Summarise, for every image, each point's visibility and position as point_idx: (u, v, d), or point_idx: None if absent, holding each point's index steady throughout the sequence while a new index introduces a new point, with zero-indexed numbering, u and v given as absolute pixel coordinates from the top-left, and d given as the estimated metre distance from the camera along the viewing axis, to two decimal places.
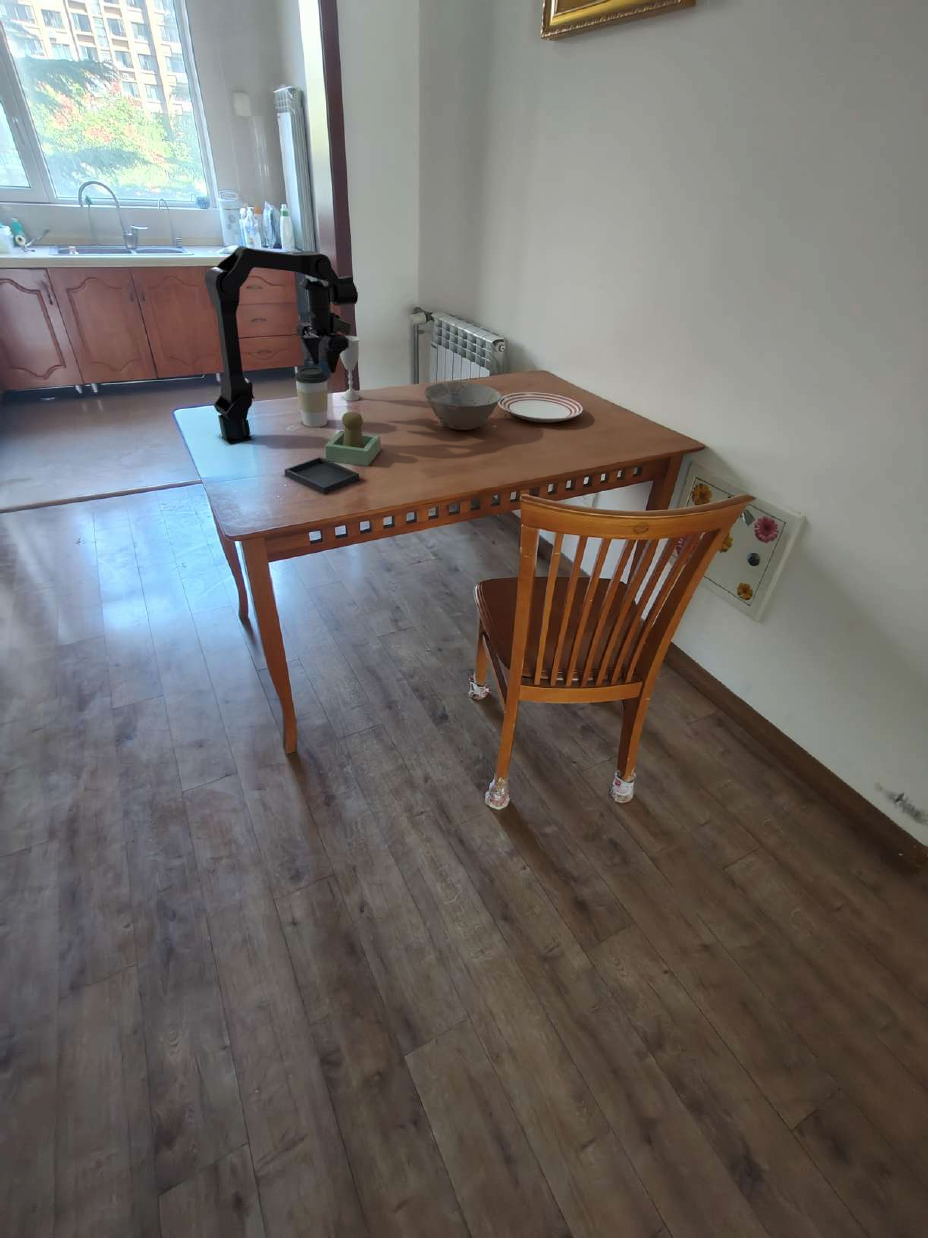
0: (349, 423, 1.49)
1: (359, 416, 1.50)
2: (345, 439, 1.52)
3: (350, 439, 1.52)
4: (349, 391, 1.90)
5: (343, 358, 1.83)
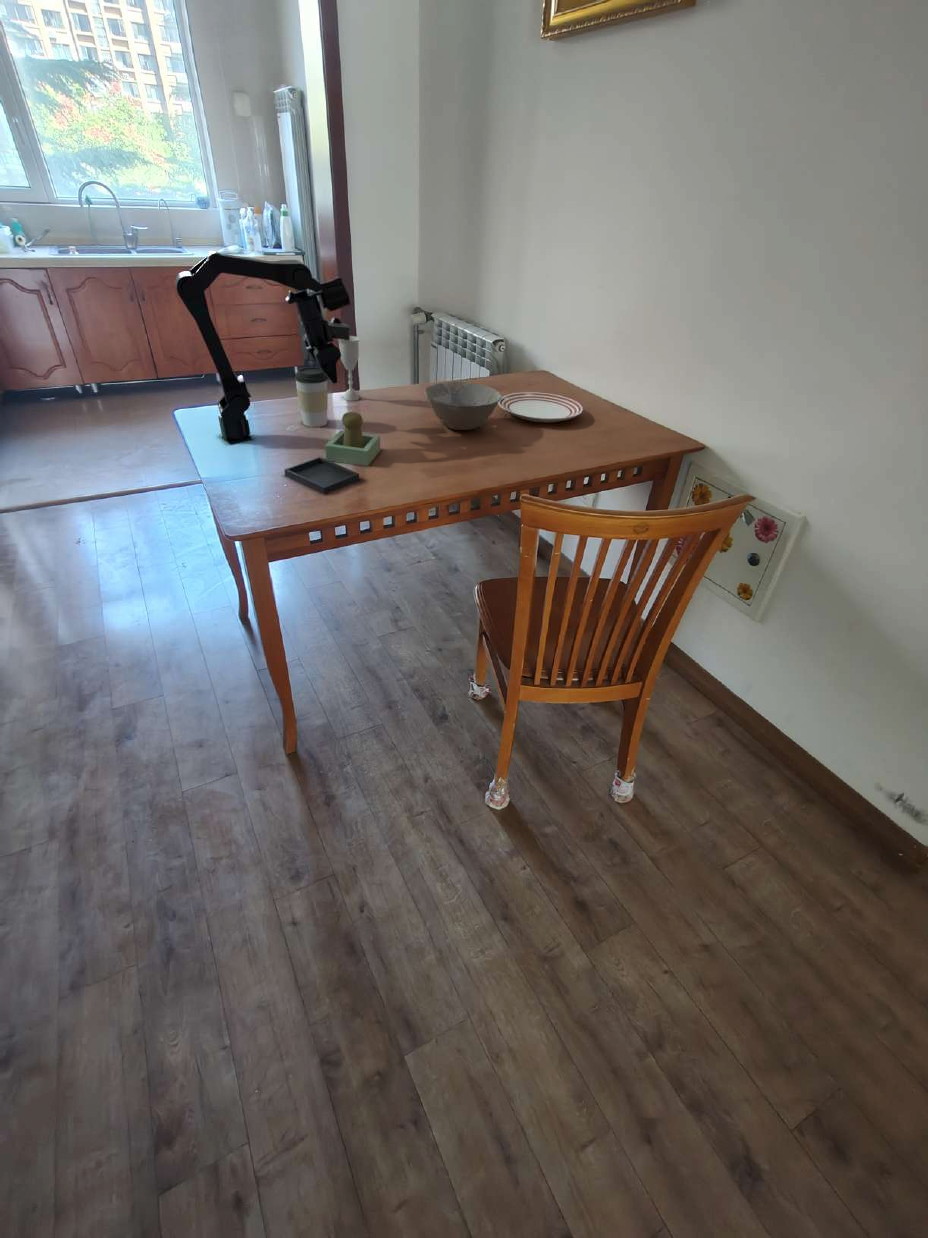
0: (349, 422, 1.49)
1: (359, 416, 1.50)
2: (345, 439, 1.52)
3: (350, 439, 1.52)
4: (349, 391, 1.90)
5: (343, 358, 1.83)
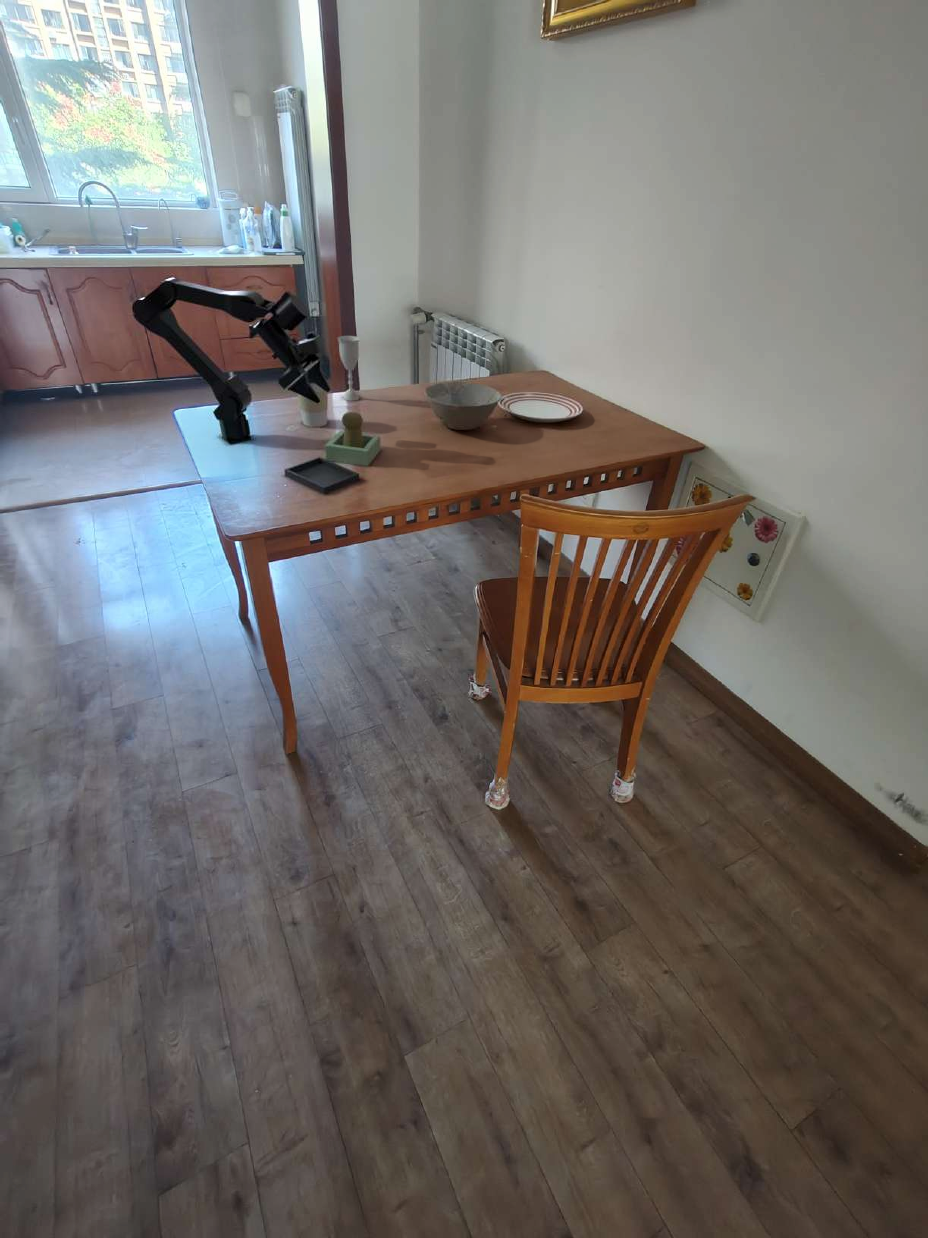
0: (349, 423, 1.49)
1: (359, 416, 1.50)
2: (345, 439, 1.52)
3: (350, 439, 1.52)
4: (349, 391, 1.90)
5: (343, 358, 1.83)
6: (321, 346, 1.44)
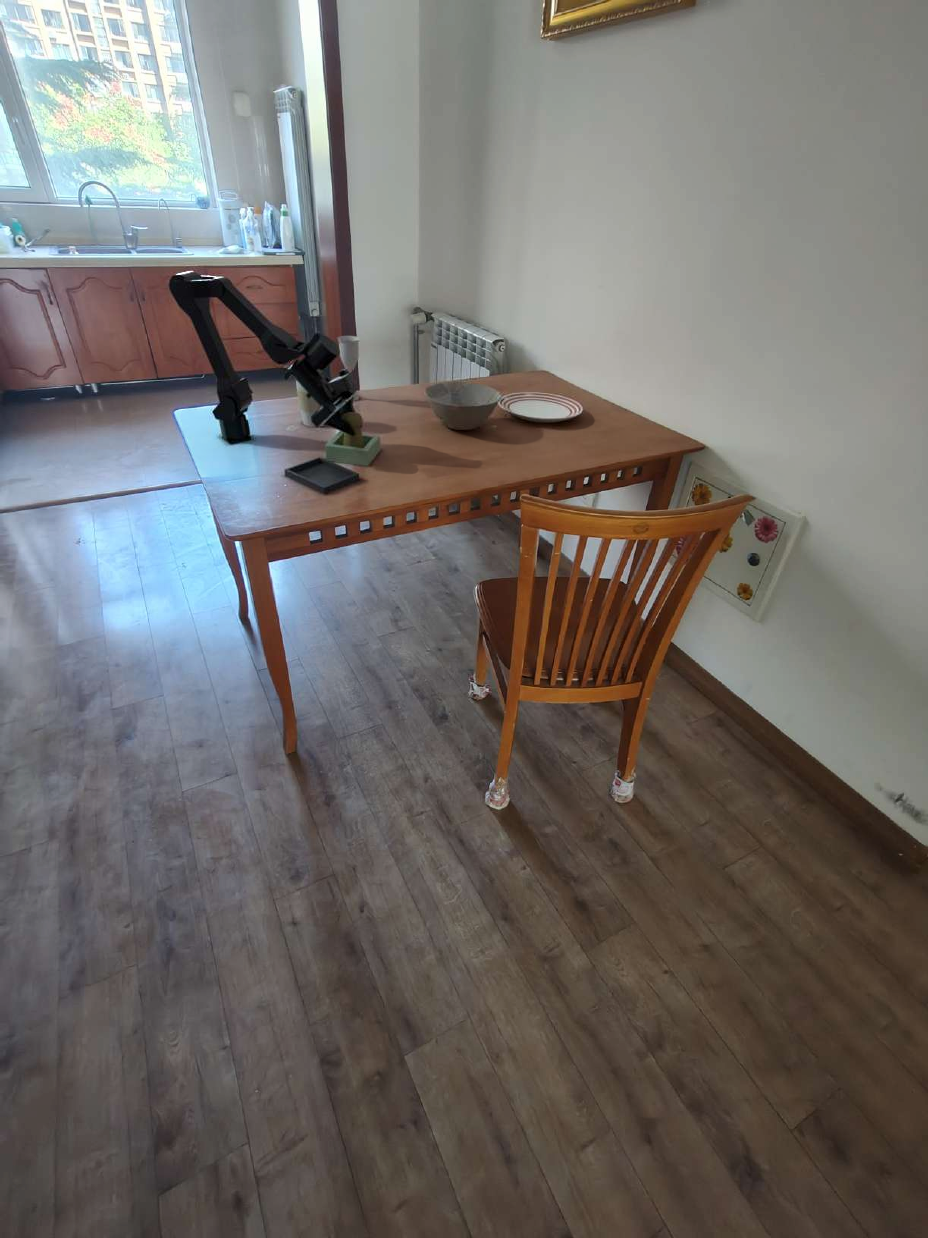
0: (349, 422, 1.49)
1: (359, 416, 1.50)
2: (345, 439, 1.52)
3: (350, 439, 1.52)
4: None
5: (343, 358, 1.83)
6: (352, 383, 1.46)
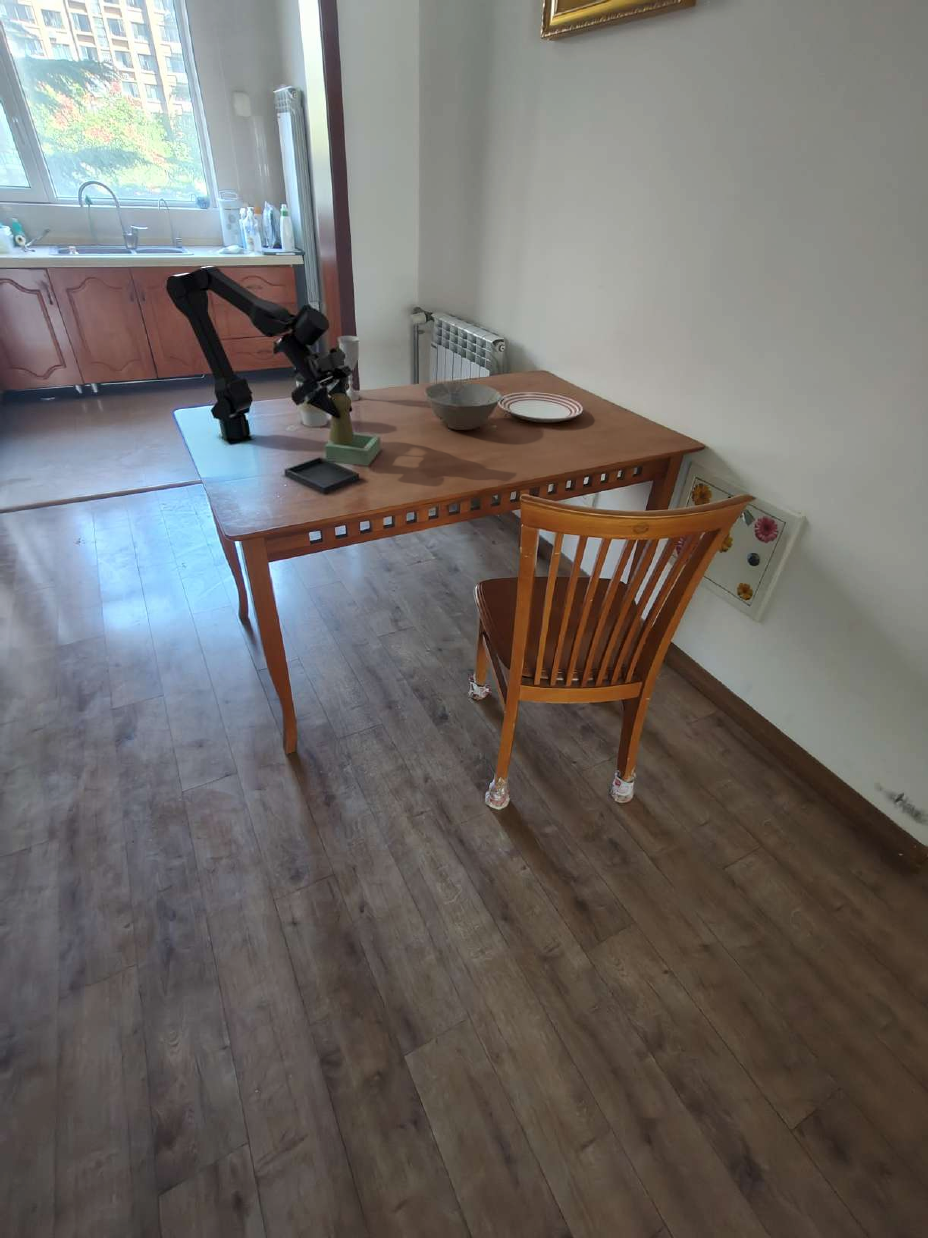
0: (334, 404, 1.39)
1: (346, 398, 1.40)
2: (331, 421, 1.43)
3: (336, 421, 1.42)
4: (349, 391, 1.90)
5: None
6: (340, 361, 1.36)
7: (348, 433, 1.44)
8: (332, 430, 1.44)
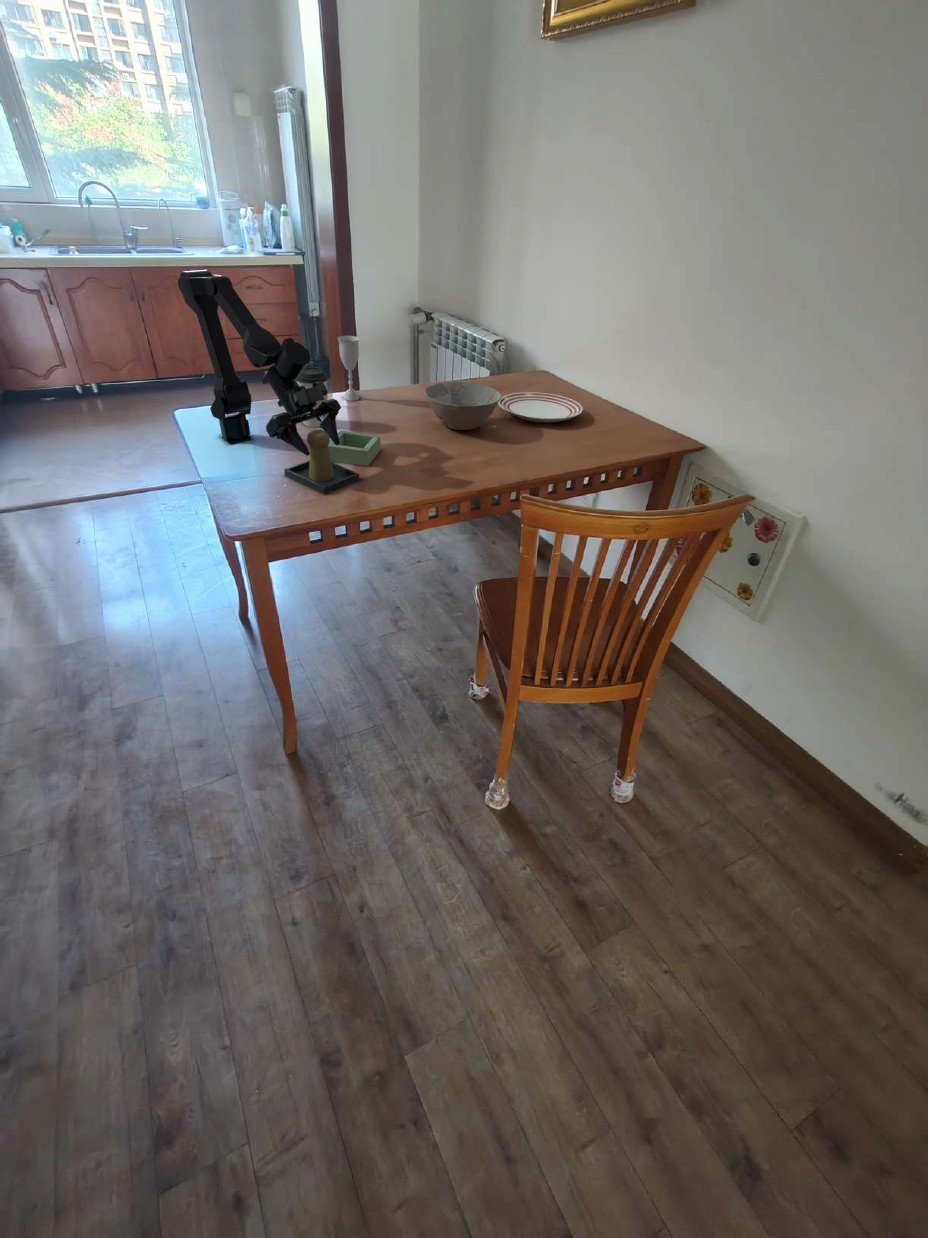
0: (309, 441, 1.37)
1: (323, 436, 1.37)
2: None
3: (312, 458, 1.39)
4: (349, 391, 1.90)
5: (343, 358, 1.83)
6: (318, 397, 1.33)
7: (325, 471, 1.41)
8: (310, 466, 1.41)
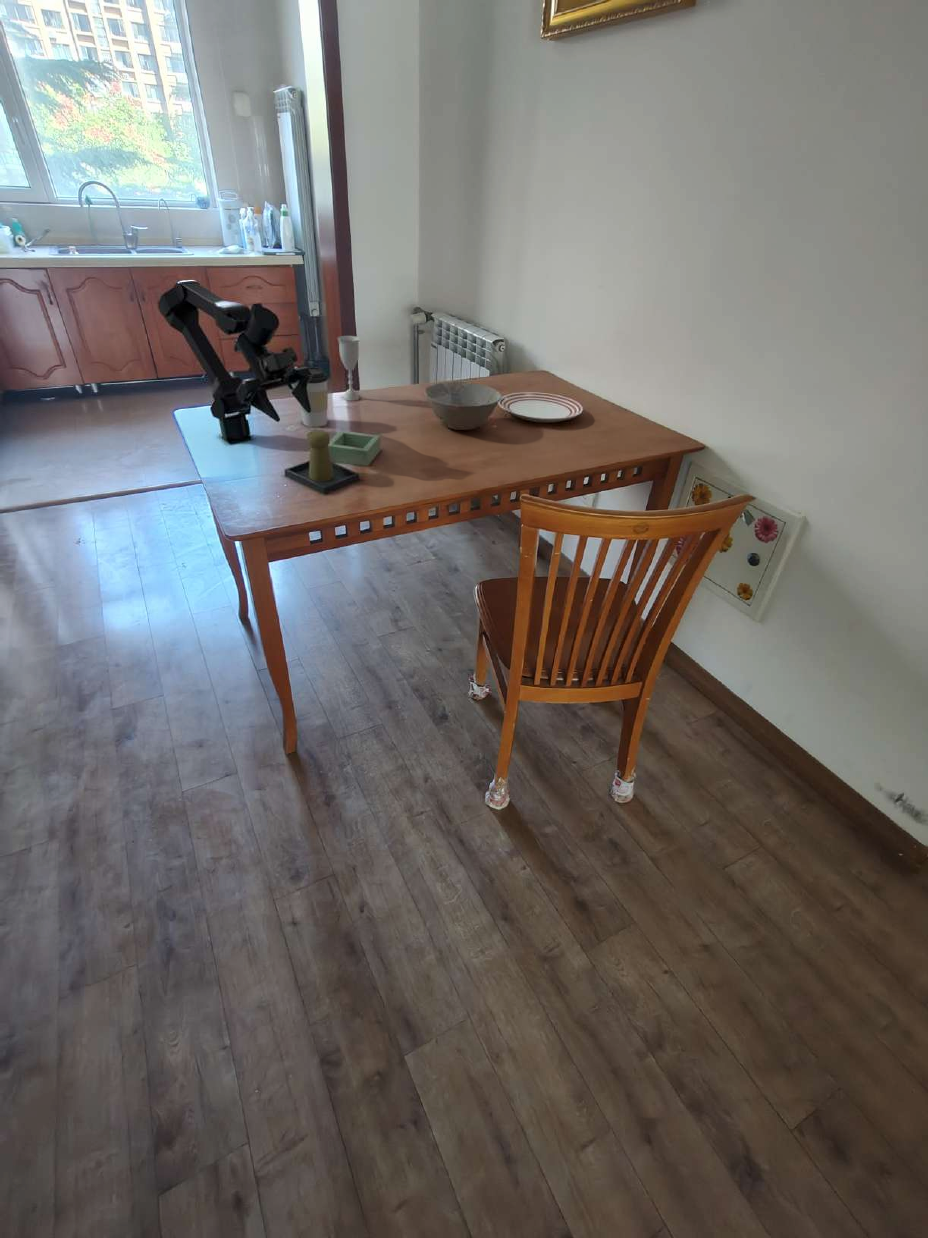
0: (310, 441, 1.37)
1: (323, 436, 1.37)
2: None
3: (312, 458, 1.39)
4: (349, 391, 1.90)
5: (343, 358, 1.83)
6: (287, 362, 1.34)
7: (325, 471, 1.41)
8: (310, 466, 1.41)
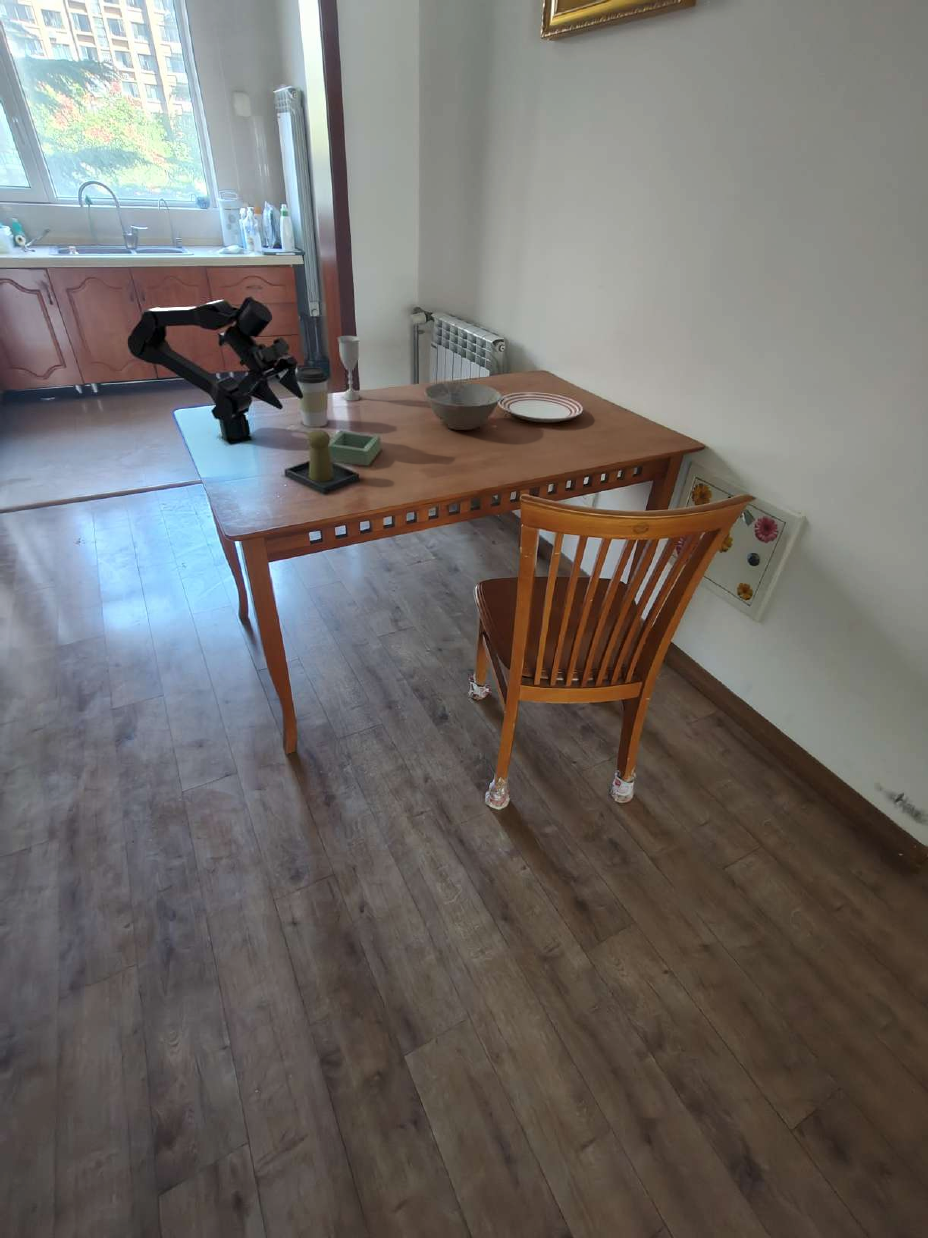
0: (310, 441, 1.37)
1: (323, 436, 1.37)
2: None
3: (312, 458, 1.39)
4: (349, 391, 1.90)
5: (343, 358, 1.83)
6: (284, 351, 1.42)
7: (325, 471, 1.41)
8: (310, 466, 1.41)
